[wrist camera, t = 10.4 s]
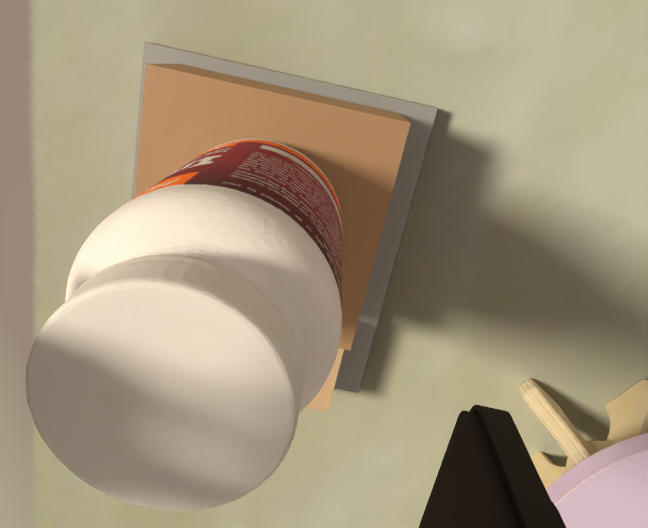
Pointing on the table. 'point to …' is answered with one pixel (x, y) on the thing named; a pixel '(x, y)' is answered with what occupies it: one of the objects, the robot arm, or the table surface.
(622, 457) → the toy table
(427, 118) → the stand
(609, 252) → the table surface
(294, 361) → the pill bottle
